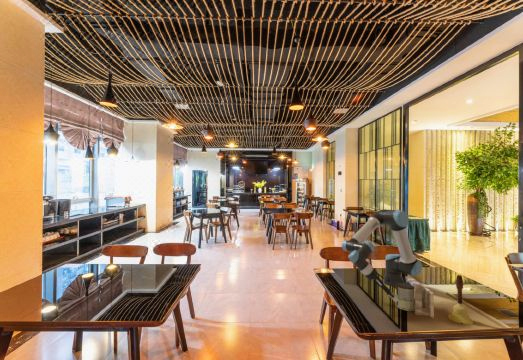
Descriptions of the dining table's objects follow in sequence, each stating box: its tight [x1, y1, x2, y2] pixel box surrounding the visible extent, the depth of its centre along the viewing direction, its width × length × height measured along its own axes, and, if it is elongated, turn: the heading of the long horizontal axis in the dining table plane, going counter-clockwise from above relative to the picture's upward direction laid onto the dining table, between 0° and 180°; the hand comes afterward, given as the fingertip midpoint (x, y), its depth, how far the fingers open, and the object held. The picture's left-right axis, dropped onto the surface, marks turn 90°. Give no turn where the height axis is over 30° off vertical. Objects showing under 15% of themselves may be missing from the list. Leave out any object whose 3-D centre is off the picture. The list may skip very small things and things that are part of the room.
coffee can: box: [395, 281, 415, 312], centre depth 172 cm, size 10×10×14 cm
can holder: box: [404, 275, 435, 319], centre depth 169 cm, size 20×9×18 cm, turn 169°
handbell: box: [447, 274, 474, 325], centre depth 157 cm, size 12×12×25 cm
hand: (397, 300), depth 171 cm, fingers closed
